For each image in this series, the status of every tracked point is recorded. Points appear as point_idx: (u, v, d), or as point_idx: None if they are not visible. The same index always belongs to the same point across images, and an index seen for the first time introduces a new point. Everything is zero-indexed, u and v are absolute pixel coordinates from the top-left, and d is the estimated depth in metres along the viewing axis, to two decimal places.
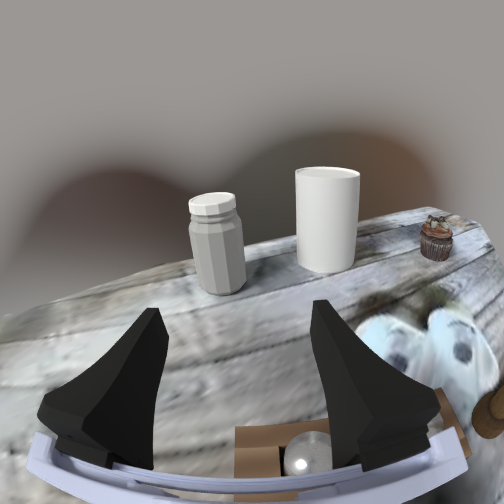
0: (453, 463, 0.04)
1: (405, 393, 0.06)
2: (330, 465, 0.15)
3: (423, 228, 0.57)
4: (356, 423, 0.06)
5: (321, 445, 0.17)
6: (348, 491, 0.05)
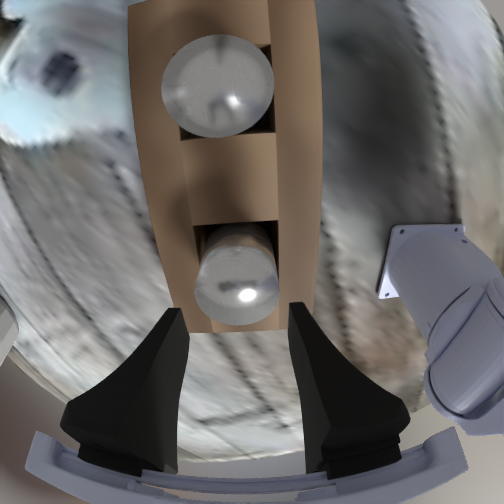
0: (453, 463, 0.04)
1: (370, 402, 0.06)
2: (263, 275, 0.13)
3: None
4: (320, 430, 0.06)
5: (221, 284, 0.14)
6: (348, 491, 0.05)
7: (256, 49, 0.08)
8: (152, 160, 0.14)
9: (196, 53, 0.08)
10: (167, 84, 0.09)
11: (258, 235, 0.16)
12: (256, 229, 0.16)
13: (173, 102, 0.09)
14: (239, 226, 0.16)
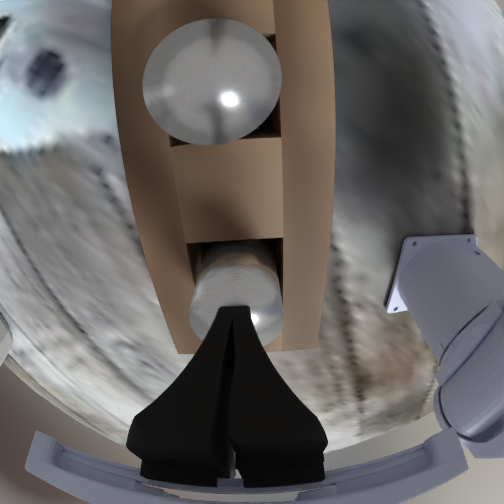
0: (453, 463, 0.04)
1: (280, 416, 0.06)
2: (266, 301, 0.12)
3: None
4: None
5: None
6: (348, 491, 0.05)
7: (259, 35, 0.06)
8: (138, 169, 0.12)
9: (185, 41, 0.06)
10: (149, 80, 0.07)
11: (260, 252, 0.14)
12: (258, 245, 0.15)
13: (156, 102, 0.07)
14: (239, 242, 0.14)
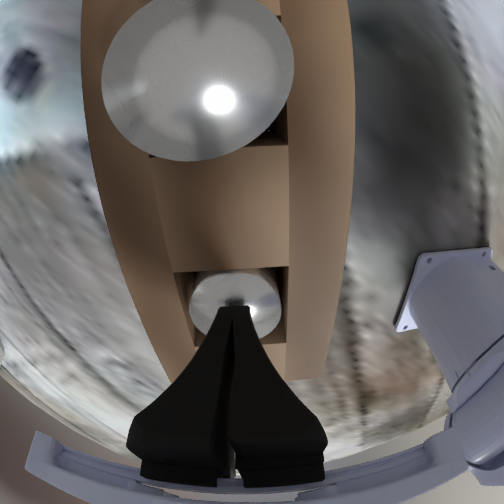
0: (453, 463, 0.04)
1: (280, 416, 0.06)
2: (263, 293, 0.12)
3: None
4: None
5: (218, 302, 0.12)
6: (348, 491, 0.05)
7: (262, 8, 0.04)
8: (113, 186, 0.09)
9: (157, 18, 0.04)
10: (110, 74, 0.05)
11: None
12: None
13: (119, 103, 0.05)
14: None
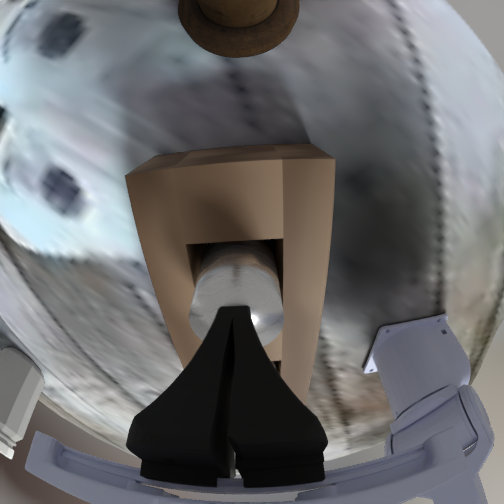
0: (453, 463, 0.04)
1: (280, 416, 0.06)
2: None
3: None
4: None
5: None
6: (348, 491, 0.05)
7: (270, 297, 0.12)
8: (177, 325, 0.17)
9: (217, 299, 0.12)
10: (194, 318, 0.12)
11: None
12: None
13: (201, 330, 0.13)
14: None
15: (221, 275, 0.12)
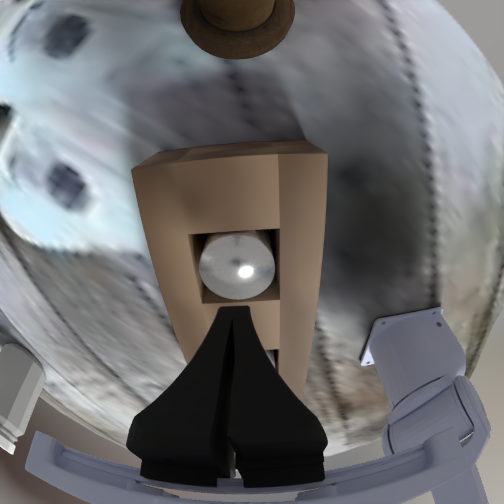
0: (453, 463, 0.04)
1: (280, 416, 0.06)
2: None
3: None
4: None
5: None
6: (348, 491, 0.05)
7: (263, 248, 0.15)
8: (179, 313, 0.18)
9: (222, 249, 0.15)
10: (203, 267, 0.16)
11: None
12: None
13: (208, 279, 0.16)
14: None
15: None
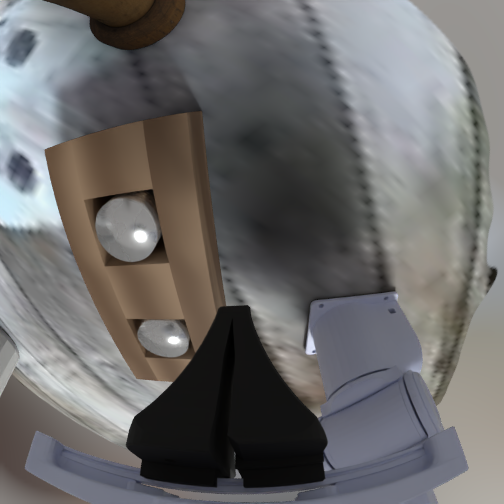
0: (453, 463, 0.04)
1: (280, 416, 0.06)
2: (174, 332, 0.20)
3: None
4: None
5: (152, 334, 0.20)
6: (348, 491, 0.05)
7: (142, 208, 0.15)
8: (90, 277, 0.17)
9: (109, 212, 0.15)
10: (98, 230, 0.16)
11: None
12: None
13: (104, 241, 0.16)
14: None
15: (115, 196, 0.15)
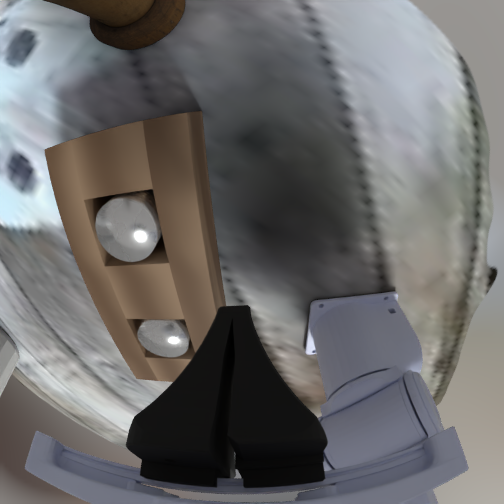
0: (453, 463, 0.04)
1: (280, 416, 0.06)
2: (174, 332, 0.20)
3: None
4: None
5: (152, 334, 0.20)
6: (348, 491, 0.05)
7: (142, 208, 0.15)
8: (90, 277, 0.17)
9: (109, 212, 0.15)
10: (98, 230, 0.16)
11: None
12: None
13: (104, 241, 0.16)
14: None
15: (115, 196, 0.15)
